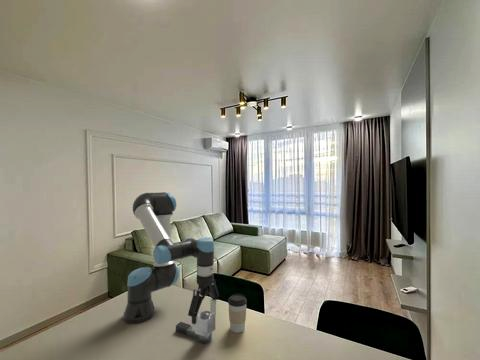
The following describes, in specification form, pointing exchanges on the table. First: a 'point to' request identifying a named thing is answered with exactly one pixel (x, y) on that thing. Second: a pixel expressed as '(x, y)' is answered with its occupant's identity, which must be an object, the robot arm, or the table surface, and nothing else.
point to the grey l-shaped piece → (192, 333)
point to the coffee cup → (237, 312)
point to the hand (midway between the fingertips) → (204, 321)
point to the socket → (205, 323)
